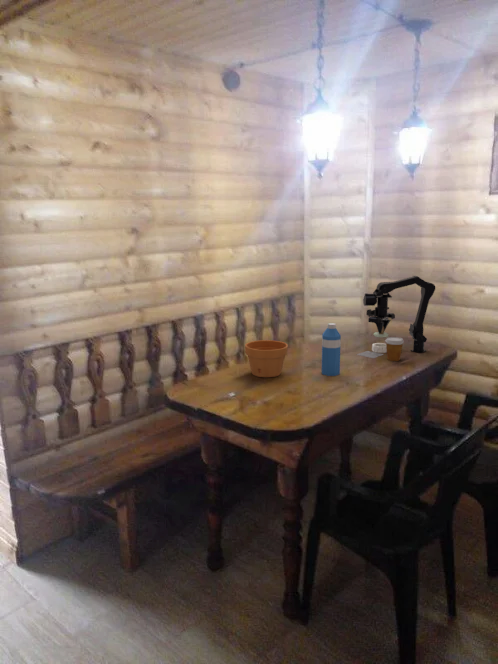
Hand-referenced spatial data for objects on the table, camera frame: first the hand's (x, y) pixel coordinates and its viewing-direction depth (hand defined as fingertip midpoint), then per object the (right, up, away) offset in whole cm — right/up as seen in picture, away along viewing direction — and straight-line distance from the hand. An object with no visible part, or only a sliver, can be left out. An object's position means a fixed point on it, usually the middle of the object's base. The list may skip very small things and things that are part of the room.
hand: (381, 332), depth 313 cm
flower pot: (-66, -20, -35) cm, 77 cm away
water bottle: (-34, -20, -36) cm, 53 cm away
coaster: (-7, -13, -5) cm, 16 cm away
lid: (0, -2, 0) cm, 2 cm away
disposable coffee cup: (+3, -15, -15) cm, 22 cm away
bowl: (0, -11, +3) cm, 11 cm away
